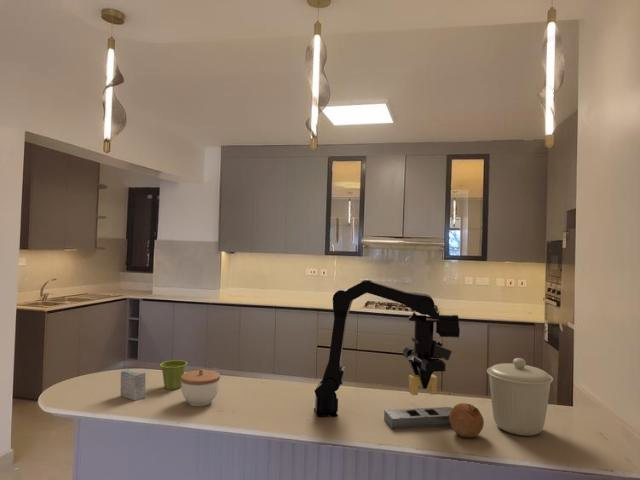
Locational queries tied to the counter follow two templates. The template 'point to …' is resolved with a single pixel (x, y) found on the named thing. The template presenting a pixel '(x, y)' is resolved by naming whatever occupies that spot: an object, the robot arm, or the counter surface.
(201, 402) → the lidded bowl
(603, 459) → the counter surface
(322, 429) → the counter surface
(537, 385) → the canister
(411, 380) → the yellow rectangular block
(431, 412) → the rail
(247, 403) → the counter surface
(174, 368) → the plant pot
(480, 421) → the onion
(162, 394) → the counter surface
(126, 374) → the medicine box
